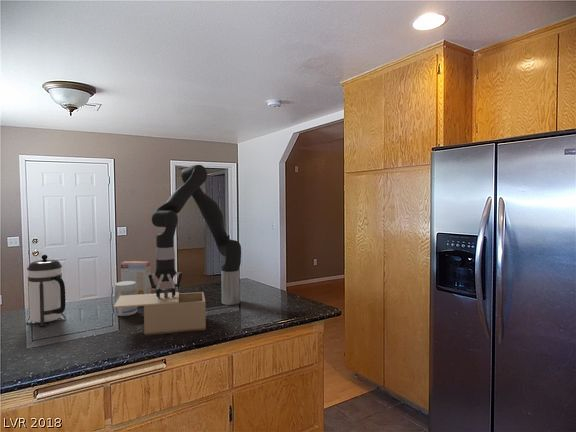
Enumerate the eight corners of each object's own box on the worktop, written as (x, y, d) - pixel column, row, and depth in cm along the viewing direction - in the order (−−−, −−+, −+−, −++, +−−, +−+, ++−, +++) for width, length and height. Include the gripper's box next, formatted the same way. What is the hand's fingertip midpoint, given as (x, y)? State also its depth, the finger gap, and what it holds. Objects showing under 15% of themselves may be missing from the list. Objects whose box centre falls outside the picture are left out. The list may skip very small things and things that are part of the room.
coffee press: (18, 330, 153) (16, 258, 152) (33, 318, 169) (31, 252, 167) (65, 326, 158) (63, 256, 156) (76, 314, 173) (74, 251, 172)
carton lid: (178, 293, 167) (178, 284, 166) (178, 303, 151) (178, 293, 151) (120, 297, 160) (120, 287, 160) (113, 308, 144) (113, 297, 144)
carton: (203, 317, 170) (203, 291, 169) (205, 329, 155) (205, 301, 154) (148, 322, 163) (147, 295, 163) (144, 335, 148) (144, 305, 147)
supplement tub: (140, 310, 180) (140, 280, 179) (131, 317, 171) (130, 285, 170) (121, 310, 181) (121, 280, 180) (111, 316, 171) (110, 285, 170)
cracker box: (151, 299, 201) (151, 260, 200) (146, 302, 195) (145, 262, 194) (127, 298, 202) (126, 260, 201) (121, 301, 196) (120, 262, 195)
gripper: (182, 255, 162) (183, 293, 163) (148, 256, 158) (148, 296, 159) (183, 258, 155) (183, 298, 156) (146, 259, 151) (147, 300, 152)
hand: (165, 296), depth 157 cm, fingers closed on carton lid, 5 cm apart
